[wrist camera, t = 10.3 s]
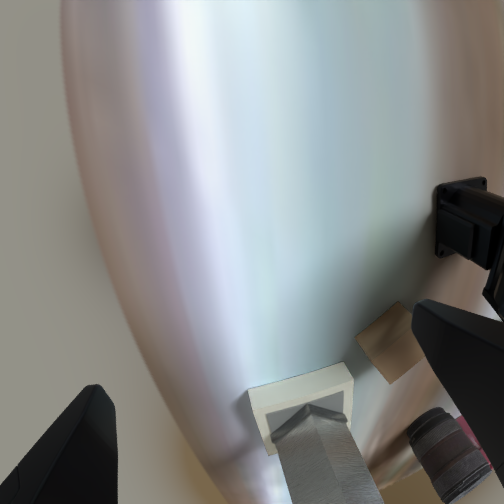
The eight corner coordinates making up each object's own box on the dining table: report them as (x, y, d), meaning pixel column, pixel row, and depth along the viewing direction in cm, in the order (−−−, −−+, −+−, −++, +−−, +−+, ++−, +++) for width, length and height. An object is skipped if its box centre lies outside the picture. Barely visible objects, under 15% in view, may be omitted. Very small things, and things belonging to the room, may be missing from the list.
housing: (307, 403, 24) (353, 518, 13) (344, 413, 26) (391, 510, 15) (269, 434, 25) (300, 542, 14) (308, 442, 27) (343, 536, 16)
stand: (343, 361, 26) (354, 380, 24) (342, 414, 30) (350, 431, 28) (247, 389, 26) (252, 411, 23) (263, 437, 29) (268, 456, 27)
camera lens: (449, 411, 37) (493, 473, 24) (409, 442, 38) (448, 507, 25) (442, 396, 34) (494, 467, 20) (397, 430, 35) (441, 507, 21)
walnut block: (397, 300, 25) (418, 321, 22) (412, 329, 27) (432, 350, 24) (353, 336, 26) (370, 361, 22) (374, 361, 28) (390, 384, 24)
